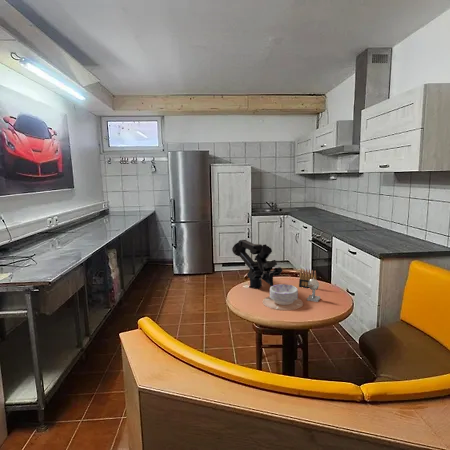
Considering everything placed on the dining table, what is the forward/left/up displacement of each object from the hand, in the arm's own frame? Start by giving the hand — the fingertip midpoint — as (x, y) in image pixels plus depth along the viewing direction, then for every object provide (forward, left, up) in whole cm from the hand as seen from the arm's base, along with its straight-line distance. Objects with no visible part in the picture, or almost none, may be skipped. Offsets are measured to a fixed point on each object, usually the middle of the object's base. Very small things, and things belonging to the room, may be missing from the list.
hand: (272, 286), depth 191 cm
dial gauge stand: (+22, +6, -6) cm, 24 cm away
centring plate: (+8, -6, -6) cm, 12 cm away
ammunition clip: (+14, +24, -7) cm, 29 cm away
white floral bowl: (+9, -6, -6) cm, 12 cm away
